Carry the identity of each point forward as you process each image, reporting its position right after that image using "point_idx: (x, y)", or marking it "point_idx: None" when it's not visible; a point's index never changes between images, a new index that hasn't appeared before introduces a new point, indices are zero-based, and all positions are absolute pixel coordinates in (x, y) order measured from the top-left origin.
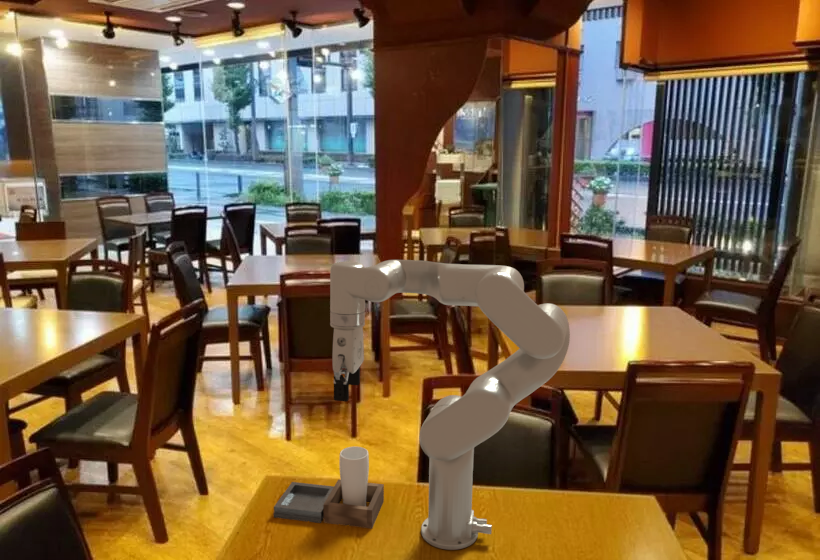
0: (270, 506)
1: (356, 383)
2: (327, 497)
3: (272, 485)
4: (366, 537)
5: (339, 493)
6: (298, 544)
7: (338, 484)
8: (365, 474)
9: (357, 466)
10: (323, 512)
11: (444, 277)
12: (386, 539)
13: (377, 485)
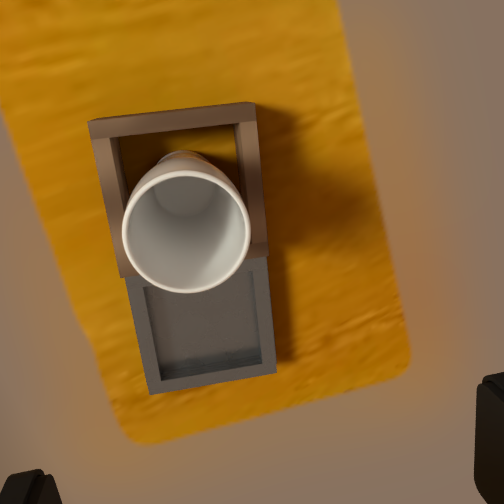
0: (234, 387)
1: (49, 501)
2: None
3: (145, 433)
4: (288, 102)
5: None
6: (357, 253)
7: None
8: (201, 160)
9: (237, 190)
10: None
11: None
12: (282, 41)
13: (103, 140)
